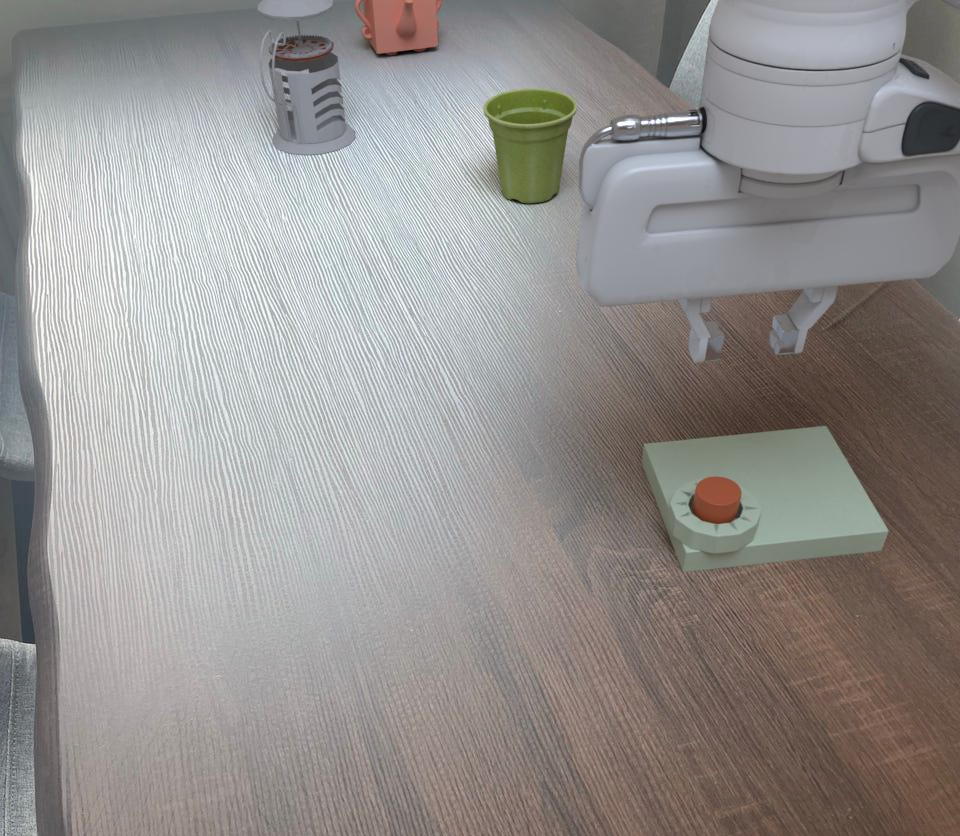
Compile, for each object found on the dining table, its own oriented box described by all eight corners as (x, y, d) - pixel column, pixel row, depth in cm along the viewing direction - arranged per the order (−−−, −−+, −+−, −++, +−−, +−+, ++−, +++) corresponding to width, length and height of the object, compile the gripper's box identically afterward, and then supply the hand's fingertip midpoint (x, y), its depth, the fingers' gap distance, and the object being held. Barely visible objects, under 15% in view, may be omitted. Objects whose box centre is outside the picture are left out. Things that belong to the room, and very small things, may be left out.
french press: (371, 128, 121) (345, -132, 103) (317, 167, 114) (279, -104, 96) (302, 115, 124) (265, -139, 106) (245, 152, 117) (195, -113, 99)
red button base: (820, 445, 78) (831, 407, 76) (884, 555, 70) (898, 517, 67) (635, 464, 77) (639, 426, 75) (677, 578, 69) (684, 539, 66)
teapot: (430, 24, 145) (427, -45, 139) (458, 59, 136) (455, -13, 129) (348, 34, 143) (341, -35, 137) (370, 71, 134) (364, -2, 127)
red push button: (730, 494, 70) (734, 473, 69) (743, 522, 68) (747, 502, 67) (687, 498, 70) (690, 478, 68) (699, 527, 68) (702, 507, 66)
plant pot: (497, 217, 105) (496, 129, 99) (476, 179, 111) (473, 93, 105) (585, 205, 106) (589, 117, 100) (559, 168, 112) (561, 83, 106)
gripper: (594, 146, 47) (580, 400, 57) (1020, 112, 48) (931, 367, 59) (569, 94, 51) (559, 340, 61) (961, 65, 53) (888, 310, 63)
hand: (744, 353), depth 60 cm, fingers open, 3 cm apart
